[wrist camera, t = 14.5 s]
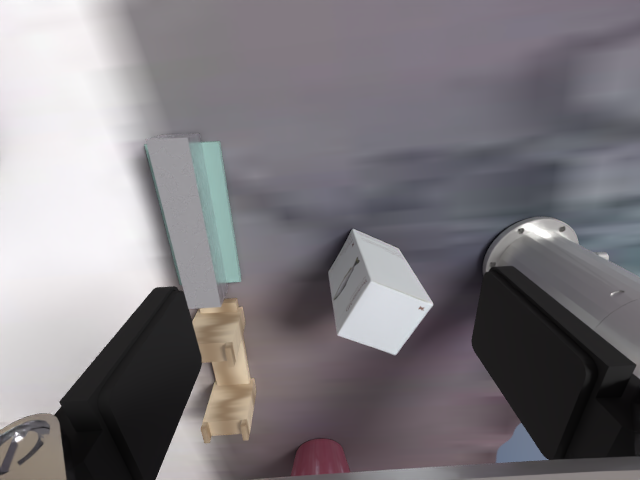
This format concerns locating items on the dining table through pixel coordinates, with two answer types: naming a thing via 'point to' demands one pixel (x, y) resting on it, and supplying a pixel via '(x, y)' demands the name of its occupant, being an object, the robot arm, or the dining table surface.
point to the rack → (226, 370)
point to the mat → (220, 209)
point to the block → (189, 216)
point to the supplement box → (375, 294)
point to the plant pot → (320, 458)
